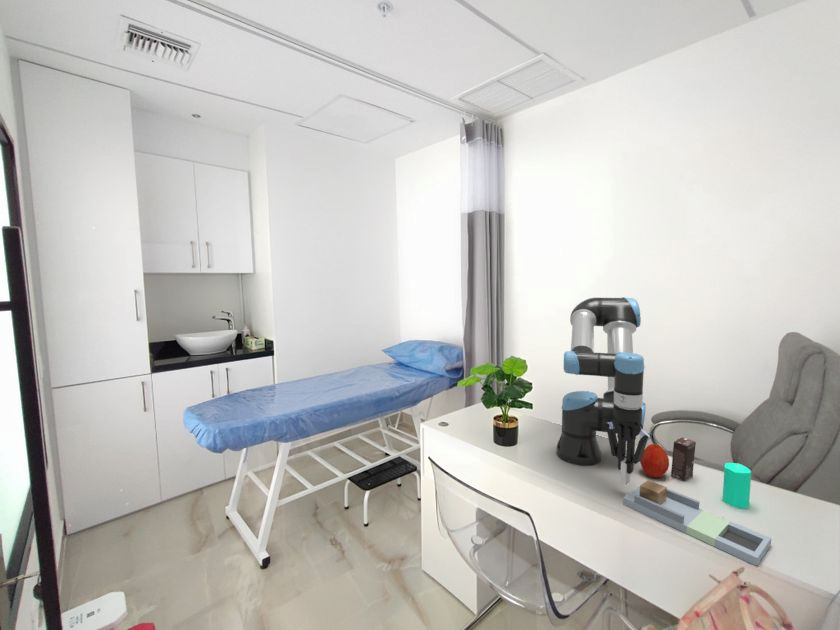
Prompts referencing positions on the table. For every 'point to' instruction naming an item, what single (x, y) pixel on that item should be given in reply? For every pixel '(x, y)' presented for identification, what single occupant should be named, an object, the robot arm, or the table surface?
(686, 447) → the box
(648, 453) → the apple
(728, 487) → the candle
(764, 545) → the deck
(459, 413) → the table surface
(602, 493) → the table surface
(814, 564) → the table surface
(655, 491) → the block
